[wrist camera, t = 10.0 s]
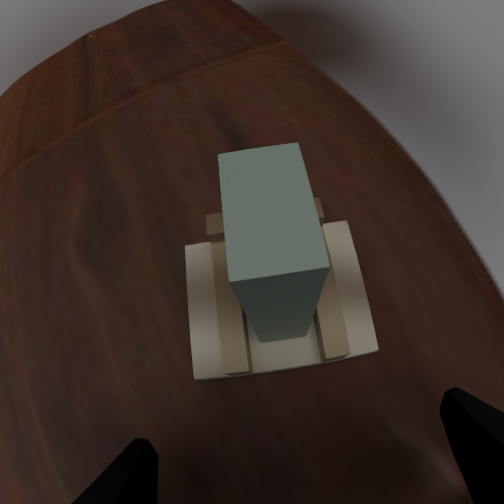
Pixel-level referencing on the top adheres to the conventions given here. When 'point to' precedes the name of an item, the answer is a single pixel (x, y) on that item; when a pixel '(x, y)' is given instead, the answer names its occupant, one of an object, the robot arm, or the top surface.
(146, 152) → the top surface
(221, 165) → the plank
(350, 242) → the groove base
